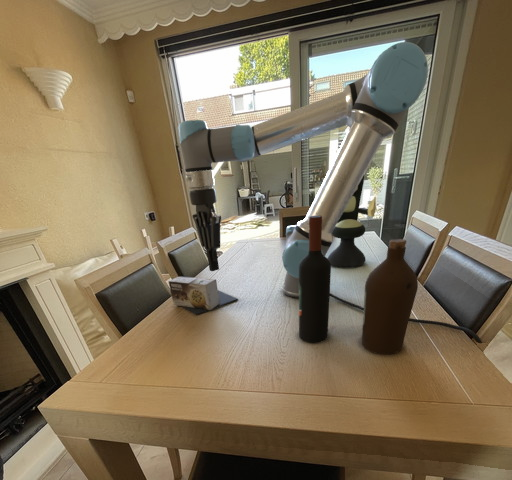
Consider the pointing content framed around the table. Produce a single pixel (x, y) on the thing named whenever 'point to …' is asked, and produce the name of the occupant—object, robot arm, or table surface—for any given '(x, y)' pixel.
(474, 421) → the table surface
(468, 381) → the table surface
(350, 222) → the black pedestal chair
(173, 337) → the table surface
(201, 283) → the coffee box
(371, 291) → the olive oil
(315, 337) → the wine bottle
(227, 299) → the placemat
